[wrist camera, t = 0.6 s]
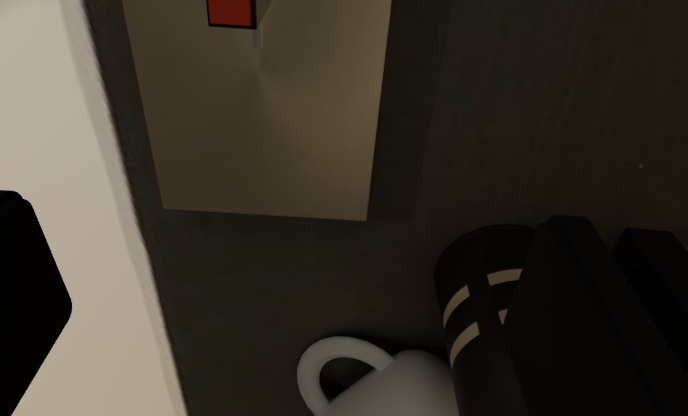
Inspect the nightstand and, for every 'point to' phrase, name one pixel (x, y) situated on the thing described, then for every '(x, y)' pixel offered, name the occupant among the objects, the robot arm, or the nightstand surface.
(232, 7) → the black boxy piece
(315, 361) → the mug
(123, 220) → the nightstand surface
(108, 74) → the nightstand surface
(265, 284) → the nightstand surface
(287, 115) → the panel
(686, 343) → the light fixture
